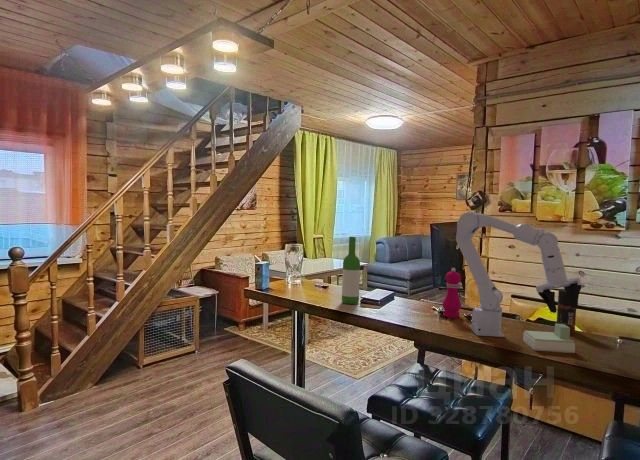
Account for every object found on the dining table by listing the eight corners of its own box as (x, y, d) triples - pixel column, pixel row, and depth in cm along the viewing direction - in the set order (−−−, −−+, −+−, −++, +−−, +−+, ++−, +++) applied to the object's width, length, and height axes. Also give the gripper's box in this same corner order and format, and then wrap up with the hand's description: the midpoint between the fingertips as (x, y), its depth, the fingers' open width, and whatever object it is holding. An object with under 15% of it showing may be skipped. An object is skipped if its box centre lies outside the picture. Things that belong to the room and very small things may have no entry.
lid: (535, 341, 127) (535, 327, 126) (524, 332, 135) (525, 320, 135) (574, 343, 125) (575, 330, 125) (561, 334, 134) (561, 322, 134)
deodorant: (566, 333, 146) (568, 292, 145) (552, 328, 152) (554, 289, 151) (578, 332, 148) (581, 292, 147) (564, 327, 153) (567, 288, 152)
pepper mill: (461, 319, 161) (464, 269, 160) (442, 317, 162) (445, 268, 161) (459, 314, 168) (461, 267, 167) (441, 313, 169) (443, 266, 168)
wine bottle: (338, 302, 183) (340, 236, 182) (350, 300, 188) (353, 236, 186) (349, 305, 177) (351, 237, 175) (362, 303, 182) (364, 237, 180)
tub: (534, 350, 127) (534, 341, 126) (523, 341, 136) (523, 332, 135) (574, 353, 125) (575, 343, 125) (560, 343, 134) (561, 334, 134)
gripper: (542, 273, 127) (552, 315, 126) (583, 264, 129) (593, 306, 128) (528, 272, 134) (537, 313, 133) (567, 264, 136) (577, 304, 135)
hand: (564, 309), depth 131 cm, fingers open, 7 cm apart
